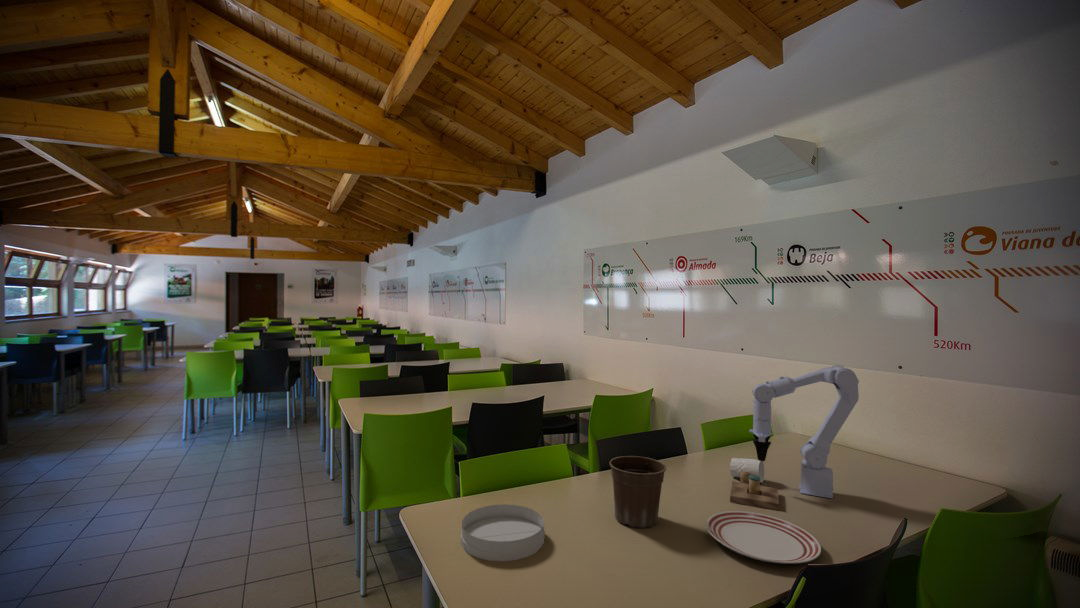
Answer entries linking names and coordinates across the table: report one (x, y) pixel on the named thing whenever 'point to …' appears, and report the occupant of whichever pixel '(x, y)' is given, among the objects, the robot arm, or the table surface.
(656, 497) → the plant pot
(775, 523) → the dinner plate
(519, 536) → the dish
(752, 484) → the long dowel
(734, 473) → the white cup
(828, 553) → the table surface
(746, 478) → the short dowel
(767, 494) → the wooden board with hole
